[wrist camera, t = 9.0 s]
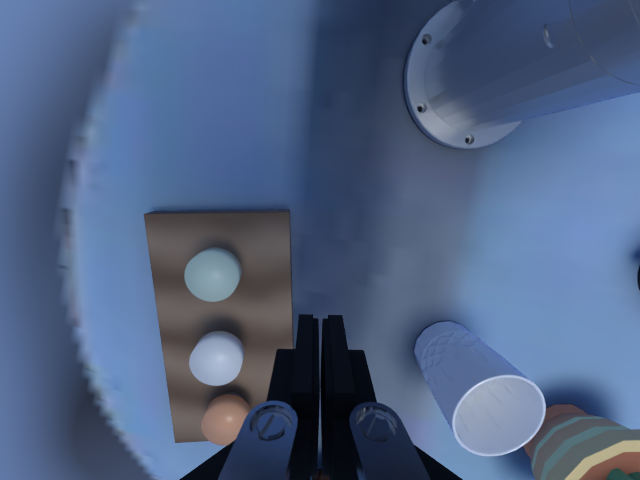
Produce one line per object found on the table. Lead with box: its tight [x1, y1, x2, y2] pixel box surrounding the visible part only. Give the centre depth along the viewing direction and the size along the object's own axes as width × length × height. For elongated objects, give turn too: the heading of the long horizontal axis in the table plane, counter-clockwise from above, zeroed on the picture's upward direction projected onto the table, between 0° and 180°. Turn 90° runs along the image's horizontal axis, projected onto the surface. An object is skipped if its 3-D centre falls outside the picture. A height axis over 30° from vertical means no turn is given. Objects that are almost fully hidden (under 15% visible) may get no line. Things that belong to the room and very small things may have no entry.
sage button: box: [184, 247, 242, 302], centre depth 26 cm, size 4×4×3 cm
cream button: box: [189, 331, 245, 386], centre depth 27 cm, size 4×4×3 cm
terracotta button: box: [201, 392, 251, 445], centre depth 30 cm, size 4×4×3 cm
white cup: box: [414, 321, 546, 456], centre depth 29 cm, size 8×8×10 cm
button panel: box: [144, 210, 294, 443], centre depth 31 cm, size 25×13×2 cm, turn 0°
